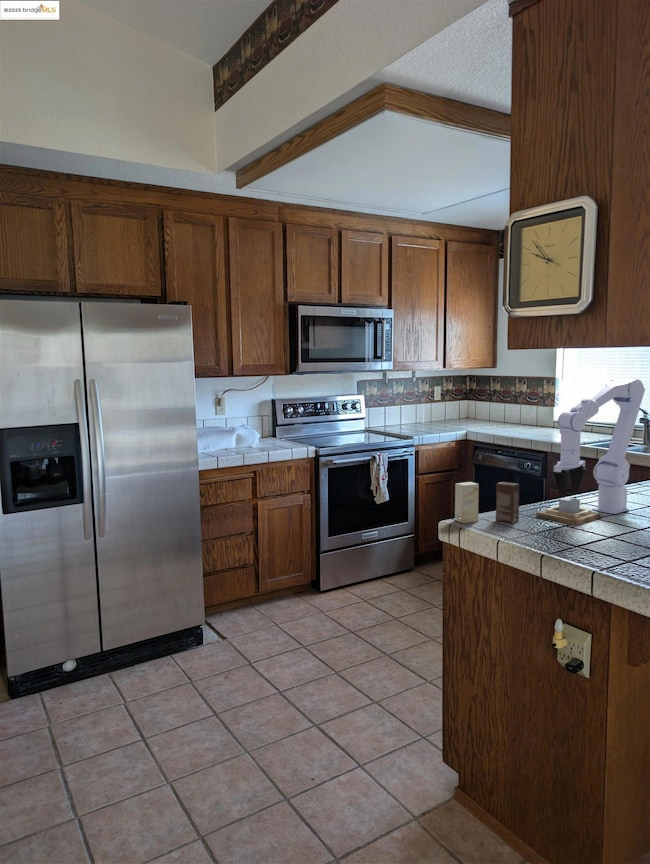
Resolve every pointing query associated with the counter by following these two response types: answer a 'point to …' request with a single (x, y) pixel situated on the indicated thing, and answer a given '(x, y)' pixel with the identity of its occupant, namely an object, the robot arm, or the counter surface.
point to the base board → (568, 516)
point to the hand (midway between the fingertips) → (569, 491)
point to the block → (569, 505)
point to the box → (507, 502)
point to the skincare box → (466, 502)
